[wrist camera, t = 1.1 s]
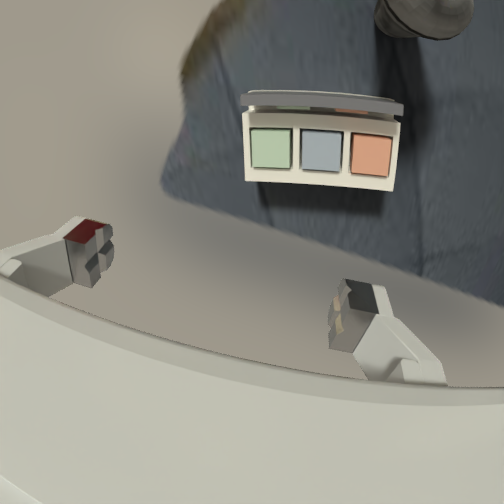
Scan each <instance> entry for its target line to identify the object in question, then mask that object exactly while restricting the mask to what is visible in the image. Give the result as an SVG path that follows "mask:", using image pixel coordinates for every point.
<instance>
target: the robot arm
mask: <svg viewBox="0 0 504 504" xmlns="http://www.w3.org/2000/svg"><path fill="white" fill-rule="evenodd" d="M112 236H113V230H112V226H111V225H110V224H107V223H104V222H100V221H96V220H92V219H88V218H85V217H80V216H75V217H74V218H72V219H71V220H70V221H69V222H67V223H66V224H65V225H64V226H63V227H61V228H60V229H59V230H57V231H56V232H55V233H54V234H53V235H46V236H42V237H39V238H36V239H33V240H30V241H27V242H24V243H20V244H17V245H15V246H11V247H8V248H5V249H3V250H0V504H504V387H448V385H447V381H446V378H445V374H444V371H443V368H442V365H441V362H440V361H439V360H438V359H437V358H436V357H435V356H434V355H433V354H432V352H430V350H429V349H428V348H427V347H426V346H425V345H424V344H423V343H422V342H421V341H420V340H419V339H418V338H417V337H416V336H415V335H414V334H413V333H412V332H411V331H410V330H409V329H408V328H407V327H406V326H405V325H404V324H403V323H402V322H401V321H400V320H399V319H398V318H394V316H393V312H392V309H391V305H390V302H389V299H388V296H387V293H386V289H385V287H383V286H380V285H374V284H369V283H364V282H358V281H354V280H349V279H344V278H343V279H342V280H341V281H340V284H339V286H338V295H337V296H335V297H334V298H333V300H332V302H331V305H330V309H329V313H328V325H329V326H330V327H331V330H330V332H329V348H330V349H334V350H339V351H345V352H350V353H353V356H354V357H355V359H356V361H357V362H358V364H359V365H360V367H361V369H362V370H363V372H364V373H365V375H366V376H367V378H368V380H363V379H355V378H348V377H340V376H333V375H326V374H320V373H314V372H308V371H302V370H297V369H291V368H286V367H281V366H276V365H271V364H266V363H261V362H257V361H252V360H247V359H243V358H239V357H234V356H230V355H226V354H222V353H218V352H213V351H210V350H206V349H202V348H198V347H195V346H191V345H187V344H183V343H180V342H176V341H173V340H169V339H166V338H162V337H159V336H156V335H152V334H149V333H146V332H142V331H140V330H136V329H133V328H130V327H127V326H124V325H121V324H118V323H115V322H112V321H110V320H107V319H104V318H101V317H98V316H96V315H93V314H90V313H87V312H85V311H82V310H79V309H77V308H74V307H72V306H69V305H67V304H64V303H62V302H59V301H57V300H54V299H52V298H49V296H51V295H53V294H55V293H57V292H58V291H60V290H62V289H64V288H66V287H68V286H69V285H71V284H73V283H76V284H79V285H82V286H86V287H89V288H92V287H93V286H94V285H95V284H96V282H97V281H98V280H99V279H100V278H101V275H100V273H101V272H103V271H105V270H107V269H108V268H109V267H110V266H111V263H112V261H113V258H114V245H113V244H112V242H111V241H110V239H111V237H112Z"/></svg>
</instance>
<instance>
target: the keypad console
mask: <svg viewBox="0 0 504 504" xmlns="http://www.w3.org/2000/svg"><path fill="white" fill-rule="evenodd" d="M240 99H241V106H249V110H248V111H246V112H244V113H242V118H243V140H244V161H245V181H262V182H284V183H301V184H317V185H330V186H343V187H354V188H365V189H375V190H384V191H393V186H394V179H395V172H396V164H397V155H398V146H399V136H400V124H401V123H399V122H398V121H396V120H395V119H394V115H400V116H403V108H404V105H403V104H400V103H398V102H395V100H392V99H390V98H383V97H375V96H367V95H357V94H347V93H335V92H320V91H296V90H253V91H249V92H248V93H245V94H242V95H240ZM254 128H291V165H290V168H276V167H253V166H252V139H251V131H252V130H253V129H254ZM303 129H316V130H331V131H340V133H341V152H340V168H339V171H328V170H314V169H302V132H303ZM352 132H355V133H365V134H374V135H382V136H387V137H388V138H390V139H391V149H390V159H389V168H388V176H382V175H373V174H363V173H352V172H351V169H350V157H351V141H352Z"/></svg>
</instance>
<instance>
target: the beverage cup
mask: <svg viewBox="0 0 504 504" xmlns="http://www.w3.org/2000/svg"><path fill="white" fill-rule="evenodd" d="M473 11H474V4H473V0H378V1H377V4H376V7H375V10H374V20H375V23H376V25H377V26H378V28H379V29H380V30H381V31H382V32H383V33H385V34H386V35H388V36H391V37H395V38H410V37H423V38H428V39H432V40H437V41H438V40H448V39H451V38H453V37H455V36H457V35H459V34H460V33H461V32H462V31H463V30H464V29H465V28H466V27H467V25H468V24H469V23H470V22H471V19H472V15H473Z"/></svg>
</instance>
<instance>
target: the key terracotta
mask: <svg viewBox="0 0 504 504" xmlns="http://www.w3.org/2000/svg"><path fill="white" fill-rule="evenodd" d="M390 149H391V139H390V138H388V137H387V136H382V135H374V134H365V133H355V132H352V141H351V157H350V169H351V172H352V173H363V174H373V175H382V176H388V168H389V159H390Z"/></svg>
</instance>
